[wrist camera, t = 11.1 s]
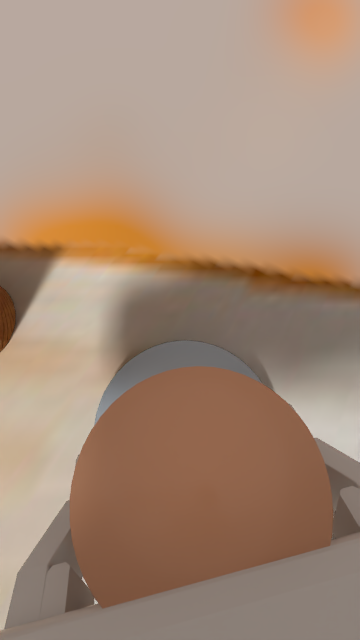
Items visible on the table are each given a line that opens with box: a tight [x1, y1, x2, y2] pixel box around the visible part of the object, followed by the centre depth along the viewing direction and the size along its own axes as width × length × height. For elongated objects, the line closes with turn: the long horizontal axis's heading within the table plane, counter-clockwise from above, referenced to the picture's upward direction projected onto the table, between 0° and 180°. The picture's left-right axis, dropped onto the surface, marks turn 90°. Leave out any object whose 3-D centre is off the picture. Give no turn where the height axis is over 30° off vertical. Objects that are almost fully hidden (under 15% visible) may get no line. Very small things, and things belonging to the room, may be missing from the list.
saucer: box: [94, 341, 261, 426], centre depth 19 cm, size 11×11×1 cm
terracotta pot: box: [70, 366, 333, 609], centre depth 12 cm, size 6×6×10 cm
